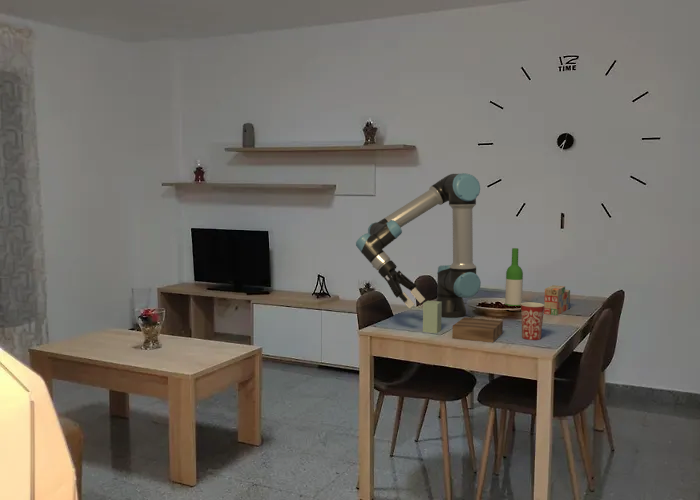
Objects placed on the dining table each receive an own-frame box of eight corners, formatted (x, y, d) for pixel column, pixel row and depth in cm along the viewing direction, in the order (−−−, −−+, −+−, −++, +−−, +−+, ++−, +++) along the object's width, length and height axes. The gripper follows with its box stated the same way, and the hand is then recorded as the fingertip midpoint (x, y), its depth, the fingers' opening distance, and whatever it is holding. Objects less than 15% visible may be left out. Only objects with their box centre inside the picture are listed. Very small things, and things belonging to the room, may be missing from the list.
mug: (542, 341, 253) (543, 307, 251) (518, 339, 256) (519, 305, 254) (544, 334, 264) (546, 301, 263) (521, 332, 268) (522, 300, 266)
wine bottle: (501, 310, 314) (503, 248, 311) (511, 308, 319) (512, 247, 316) (515, 313, 308) (517, 249, 305) (524, 311, 313) (527, 248, 310)
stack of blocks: (557, 307, 325) (558, 282, 323) (570, 308, 321) (571, 283, 320) (543, 314, 307) (544, 288, 306) (557, 315, 304) (558, 289, 302)
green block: (427, 328, 274) (427, 300, 272) (441, 330, 271) (441, 301, 270) (422, 331, 268) (423, 302, 267) (436, 333, 266) (437, 304, 264)
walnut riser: (463, 329, 273) (464, 317, 273) (502, 333, 267) (502, 320, 266) (452, 338, 257) (452, 325, 256) (493, 342, 250) (493, 329, 250)
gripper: (389, 267, 288) (420, 304, 283) (366, 274, 265) (400, 314, 260) (400, 256, 285) (433, 293, 280) (379, 262, 262) (413, 302, 258)
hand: (417, 303), depth 270 cm, fingers open, 13 cm apart
